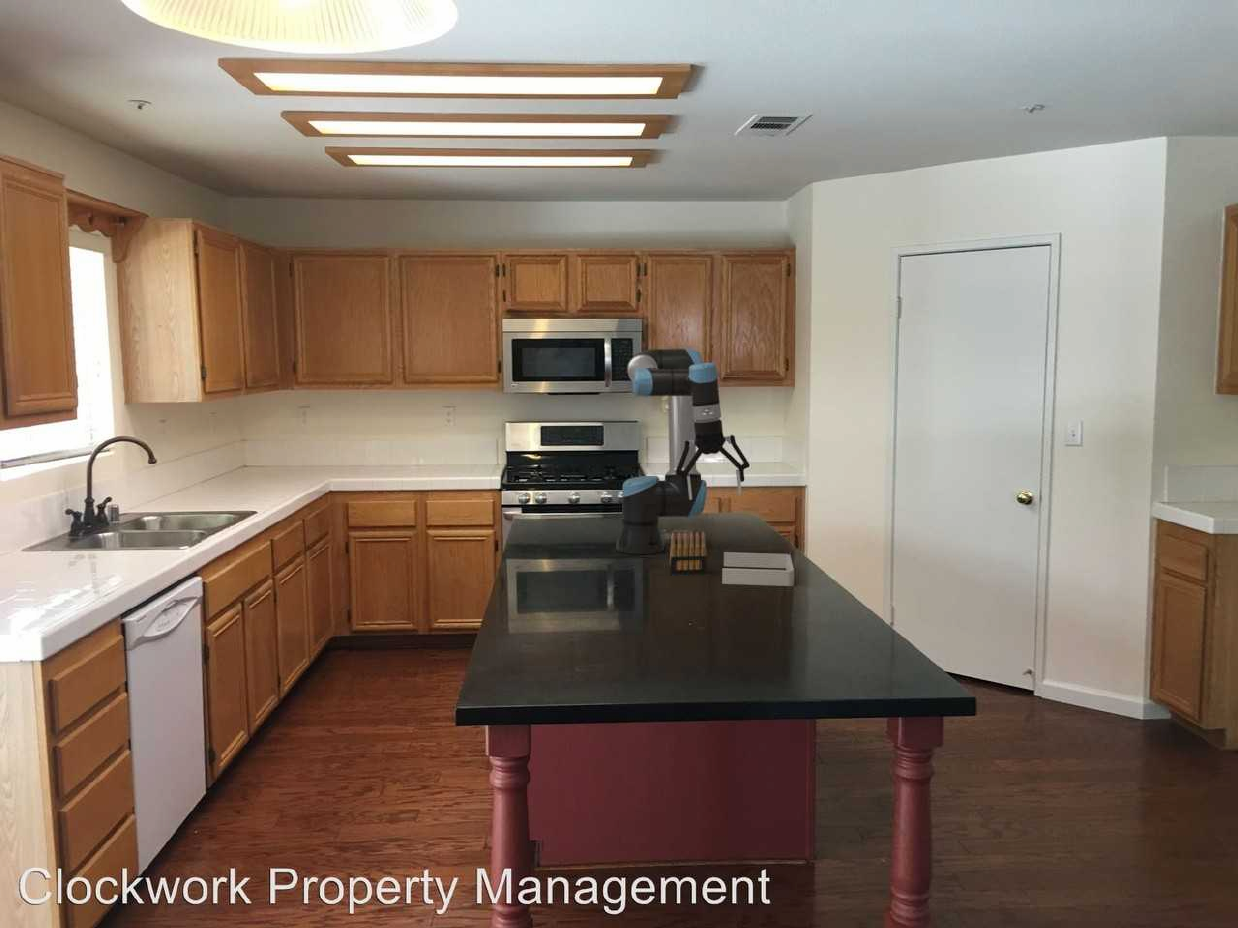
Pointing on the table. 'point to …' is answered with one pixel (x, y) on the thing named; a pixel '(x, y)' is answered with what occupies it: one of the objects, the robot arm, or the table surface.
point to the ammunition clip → (688, 555)
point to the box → (756, 574)
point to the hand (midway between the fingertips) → (715, 496)
